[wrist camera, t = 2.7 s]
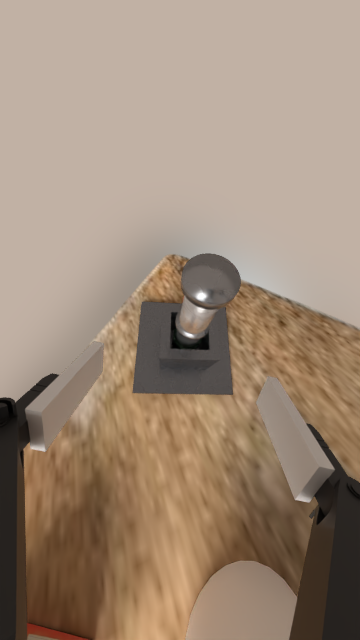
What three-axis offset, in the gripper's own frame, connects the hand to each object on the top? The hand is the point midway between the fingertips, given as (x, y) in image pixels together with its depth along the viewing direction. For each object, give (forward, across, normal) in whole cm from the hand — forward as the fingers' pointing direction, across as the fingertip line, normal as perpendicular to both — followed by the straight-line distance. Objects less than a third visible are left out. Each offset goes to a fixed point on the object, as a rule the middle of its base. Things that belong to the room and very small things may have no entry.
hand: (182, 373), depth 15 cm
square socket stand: (+22, +1, -10) cm, 24 cm away
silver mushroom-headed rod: (+20, +1, -8) cm, 22 cm away
